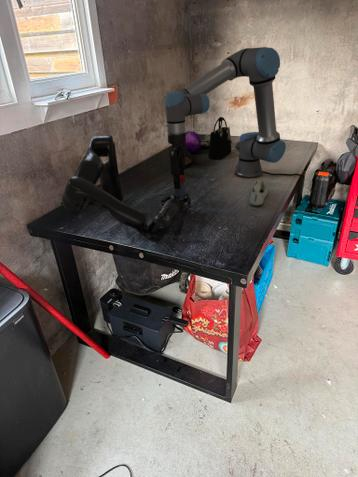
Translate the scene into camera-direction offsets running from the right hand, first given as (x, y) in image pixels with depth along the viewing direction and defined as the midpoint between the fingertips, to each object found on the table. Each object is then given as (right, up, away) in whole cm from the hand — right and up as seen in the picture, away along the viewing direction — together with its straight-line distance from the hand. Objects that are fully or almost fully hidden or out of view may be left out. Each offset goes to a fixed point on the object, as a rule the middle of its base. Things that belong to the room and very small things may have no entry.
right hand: (179, 186), depth 147 cm
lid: (0, +4, -2) cm, 4 cm away
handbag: (+28, +33, +78) cm, 89 cm away
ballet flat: (+39, -3, +13) cm, 41 cm away
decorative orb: (+8, +37, +87) cm, 95 cm away
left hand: (+1, -3, +5) cm, 6 cm away
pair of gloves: (+22, +49, +106) cm, 119 cm away
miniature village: (+56, +44, +93) cm, 117 cm away
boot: (+4, +26, +67) cm, 72 cm away
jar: (+1, -10, +6) cm, 12 cm away
